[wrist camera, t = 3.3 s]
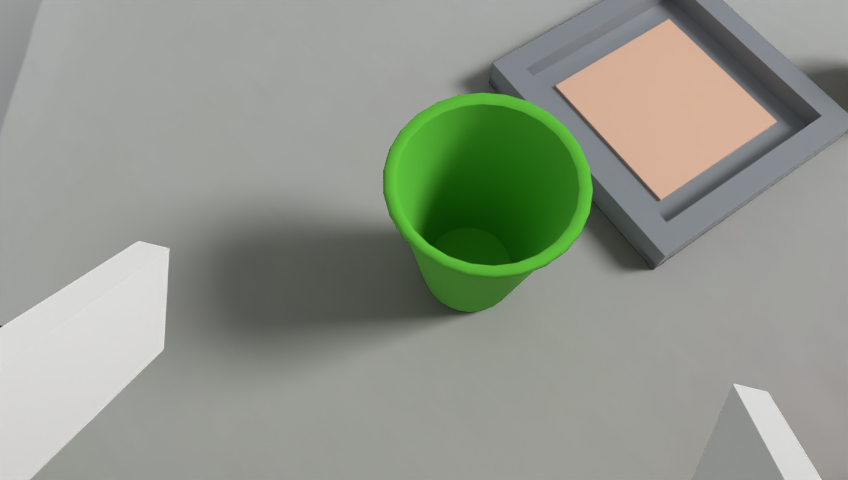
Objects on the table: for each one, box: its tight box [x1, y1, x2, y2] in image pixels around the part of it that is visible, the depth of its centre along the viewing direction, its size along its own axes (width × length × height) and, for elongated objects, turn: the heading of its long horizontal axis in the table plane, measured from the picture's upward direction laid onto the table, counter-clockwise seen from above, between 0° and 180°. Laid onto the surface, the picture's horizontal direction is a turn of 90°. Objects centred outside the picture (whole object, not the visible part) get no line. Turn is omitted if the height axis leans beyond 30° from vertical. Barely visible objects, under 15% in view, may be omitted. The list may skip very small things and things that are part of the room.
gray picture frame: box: [489, 0, 848, 270], centre depth 43 cm, size 16×16×2 cm
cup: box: [383, 93, 593, 312], centre depth 34 cm, size 9×9×11 cm
